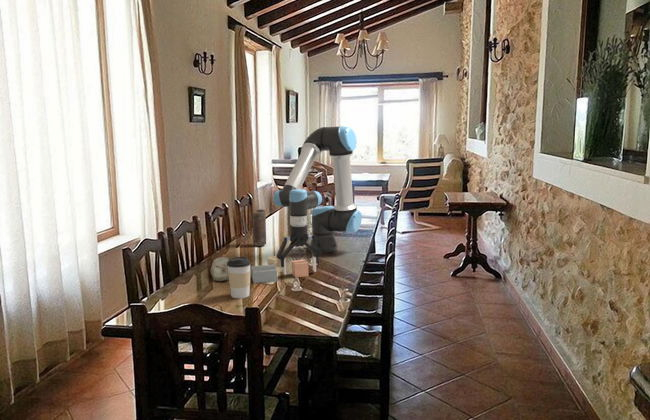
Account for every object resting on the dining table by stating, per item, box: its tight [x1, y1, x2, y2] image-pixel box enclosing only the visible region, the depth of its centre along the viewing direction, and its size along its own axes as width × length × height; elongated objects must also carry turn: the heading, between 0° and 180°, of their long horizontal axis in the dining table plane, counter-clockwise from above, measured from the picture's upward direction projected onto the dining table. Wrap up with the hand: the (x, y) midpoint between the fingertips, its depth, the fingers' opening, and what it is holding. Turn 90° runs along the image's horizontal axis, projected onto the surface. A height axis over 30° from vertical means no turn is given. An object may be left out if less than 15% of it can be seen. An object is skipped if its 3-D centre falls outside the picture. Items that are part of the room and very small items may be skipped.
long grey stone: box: [210, 256, 230, 282], centre depth 223 cm, size 35×5×10 cm
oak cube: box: [266, 255, 287, 273], centre depth 223 cm, size 6×6×6 cm
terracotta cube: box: [290, 259, 310, 278], centre depth 215 cm, size 6×6×6 cm
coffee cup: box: [227, 256, 252, 299], centre depth 189 cm, size 9×9×15 cm
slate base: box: [250, 264, 278, 284], centre depth 210 cm, size 10×10×5 cm
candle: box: [252, 209, 267, 247], centre depth 270 cm, size 8×7×20 cm
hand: (299, 272), depth 215 cm, fingers open, 13 cm apart
